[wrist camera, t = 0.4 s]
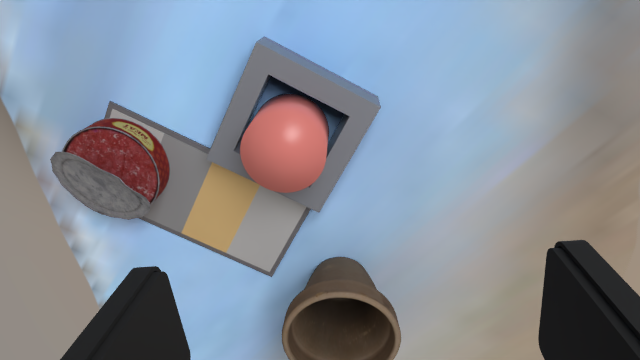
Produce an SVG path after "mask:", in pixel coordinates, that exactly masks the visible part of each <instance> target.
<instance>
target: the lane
mask: <svg viewBox="0 0 640 360" xmlns="http://www.w3.org/2000/svg"><path fill="white" fill-rule="evenodd" d="M108 118H120V119H126V120H129V121H133V122H135V123H137V124H139V125H141V126H143V127H144V128H146V129H147V130H149V131H150V132H151V133H152V134H153V135H154V136H155V137H156V138H157V139H158V140H159V142H160V143H161V144H162V146H163V147H164V149H165V151H166V153H167V156H168V160H169V164H170V176H169V181H168V183H167V186H166V188H165V189H164V191H163V192H162V193H161V194H160V195H159V196H158V197H157V199H156V200H155V201H154V202H153V203H152V205H151V206H150V212H148V213H147V214H145V215H144V216H143V217H142V218H140V219H142V220H144V221H146V222H149V223H151V224H153V225H156V226H158V227H160V228H162V229H165V230H167V231H169V232H171V233H174V234H176V235H178V236H180V237H183V238H185V239H187V240H189V241H192V242H194V243H196V244H199V245H201V246H203V247H205V248H208V249H210V250H212V251H214V252H217V253H219V254H221V255H223V256H226V257H228V258H230V259H232V260H235V261H237V262H239V263H242V264H244V265H246V266H248V267H251V268H253V269H255V270H257V271H260V272H262V273H264V274H266V275H269V276H271V277H272V275H273V274H274V272H275V270H276V268H277V267H278V265H279V263H280V261H281V260H282V258H283V256H284V255H285V253H286V251H287V249H288V248H289V246H290V244H291V242H292V241H293V239H294V237H295V235H296V234H297V232H298V230H299V228H300V227H301V225H302V223H303V221H304V220H305V218H306V216H307V214H308V213H309V211H310V208H308V207H306V206H304V205H302V204H300V203H297V202H295V201H293V200H291V199H289V198H287V197H285V196H283V195H281V194H278V193H276V192H274V191H271V190H269V189H266V188H264V187H262V186H261V185H259V184H257V183H255V182H253V181H251V180H249V179H247V178H245V177H243V176H240V175H238V174H236V173H234V172H232V171H230V170H228V169H226V168H224V167H221V166H219V165H217V164H215V163H213V162H211V161H209V160H207V159H206V158H207V156H208V154H209V151H210V148H208V147H206V146H203V145H201V144H199V143H197V142H195V141H193V140H191V139H189V138H187V137H185V136H183V135H180V134H178V133H176V132H174V131H172V130H170V129H168V128H166V127H164V126H162V125H159V124H157V123H155V122H153V121H151V120H149V119H147V118H145V117H143V116H141V115H139V114H136V113H134V112H132V111H130V110H128V109H126V108H124V107H122V106H120V105H118V104H116V103H113V102H111V101H110V102H109V105H108V108H107V112H106V115H105V118H104V119H108Z"/></svg>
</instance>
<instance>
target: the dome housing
mask: <svg viewBox="0 0 640 360" xmlns="http://www.w3.org/2000/svg"><path fill="white" fill-rule="evenodd" d="M270 76H272V77H274V78H276V79H278V80H280V81H282V82H284V83H286V84H288V85H290V86H292V87H294V88H296V89H297V90H299V91H301V92H303V93H305V94H307V95H309V96H311V97H313V98H315V99H317V100H319V101H321V102H323V103H325V104H327V105H329V106H330V107H332V108H334V109H336V110H338V111H340V112H342V113H344V116H343V117H342V119H341V121H340V123H339V125H338V127H337V128H336V130H335V132H334V134H333V136H332V137H331V139H330V141H329V143H328V146H327V156H326V162H325V166H324V169H323V171H322V173H321V174H320V176H319V177H318V179H317V180H316V181H315V182H314V183H312V184H311V185H310V186H308V187H307V188H304V189H302V190H299V191H296V192H290V193H281V192H276V193H278V194H281V195H283V196H285V197H287V198H289V199H291V200H293V201H295V202H297V203H300V204H302V205H304V206H306V207H308V208H310V209H312V210H314V211H316V212H320V210H321V208H322V207H323V205H324V203H325V202H326V200H327V198H328V197H329V195H330V193H331V191H332V190H333V188H334V186H335V185H336V183H337V181H338V179H339V178H340V176H341V174H342V173H343V171H344V169H345V167H346V166H347V164H348V162H349V161H350V159H351V157H352V156H353V154H354V152H355V150H356V149H357V147H358V145H359V144H360V142H361V140H362V138H363V137H364V135H365V133H366V132H367V130H368V128H369V126H370V125H371V123H372V121H373V120H374V118H375V116H376V115H377V113H378V111H379V109H380V108H381V106H380V103H379V99H378V96H376V95H374V94H372V93H370V92H369V91H367V90H365V89H363V88H361V87H359V86H357V85H355V84H353V83H351V82H350V81H348V80H346V79H344V78H342V77H340V76H338V75H336V74H334V73H333V72H331V71H329V70H327V69H325V68H323V67H321V66H319V65H317V64H316V63H314V62H312V61H310V60H308V59H306V58H304V57H302V56H300V55H298V54H297V53H295V52H293V51H291V50H289V49H287V48H285V47H283V46H281V45H280V44H278V43H276V42H274V41H272V40H270V39H268V38H266V37H263V38H261V39H260V40H258V41H257V42H256V44H255V46H254V49H253V51H252V53H251V56H250V58H249V60H248V63H247V65H246V67H245V70H244V72H243V74H242V77H241V79H240V81H239V84H238V86H237V88H236V91H235V93H234V95H233V98H232V100H231V102H230V105H229V107H228V109H227V112H226V114H225V116H224V119H223V121H222V123H221V126H220V128H219V130H218V133H217V135H216V137H215V140H214V142H213V144H212V147H211V149H210V151H209V154H208V156H207V158H206V159H207V160H209V161H211V162H213V163H215V164H217V165H219V166H221V167H224V168H226V169H228V170H230V171H232V172H234V173H236V174H238V175H240V176H243V177H245V178H247V179H249V180H251V181H253V182H255V181H254V180H253V179H252V178H251V177H250V176H249V174H248V173H247V171H246V170H245V168H244V166H243V163H242V160H241V155H240V145H241V140H242V137H243V135H244V133H245V131H246V129H247V127H248V124H249V122H250V120H251V118H252V116H253V113H254V111H255V109H256V107H257V105H258V102H259V100H260V98H261V96H262V94H263V91H264V89H265V87H266V85H267V83H268V81H269V78H270ZM255 183H256V182H255ZM257 184H258V183H257ZM274 192H275V191H274Z"/></svg>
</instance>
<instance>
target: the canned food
mask: <svg viewBox="0 0 640 360" xmlns="http://www.w3.org/2000/svg"><path fill="white" fill-rule="evenodd" d="M50 160H51V163H52V170H53V172H54V174H55V175H56V176H57V178H58V179H59V181H60V183H61V185H62V186H63V187H65V188H66V189H67V190H68V191H69V192H70V193H71V194H72V195H73V196H74V197H75V198H76V199H77V200H79V201H81V202H82V203H83V204H84V205H85V206H87V207H89V208H90V209H92V210H93V211H96V212H98V213H100V214H103V215H107V216H110V217H116V218H123V219H128V220H129V219H133V218H142V217H143V216H144V215H145V214H147V213H148V212H150V206H151V205H152V203H153V202H154V201H155V200H156V199H157V197H158V196H159V195H160V194H161V193H162V192H163V191H164V189H165V188H166V186H167V183H168V181H169V176H170V164H169V160H168V156H167V153H166V151H165V149H164V147H163V146H162V144H161V143H160V142H159V140H158V139H157V138H156V137H155V136H154V135H153V134H152V133H151V132H150V131H149V130H147V129H146V128H144V127H143V126H141V125H139V124H137V123H135V122H133V121H129V120H126V119H120V118H108V119H102V120H100V121H97V122H95V123H93V124H92V125H90V126H88V127H87V128H85V129H83V130H80V131H79V132H77V133H76V134H74V135H73V136H72V137H71V138H70V139H69V140H68V141H67V143H66V145H65V146H64V148H63V152H55V154H54V155H53V156H52V158H51V159H50Z"/></svg>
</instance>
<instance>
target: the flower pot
mask: <svg viewBox="0 0 640 360" xmlns="http://www.w3.org/2000/svg"><path fill="white" fill-rule="evenodd" d="M282 343H283V347H284V350H285V352H286V355H287V356H288V358H289V359H290V360H393V359H394V358H395V356H396V354H397V352H398V350H399V347H400V343H401V332H400V327H399V324H398V320H397V316H396V313H395V311H394V308H393V307H392V305H391V303H390V302H389V301H388V299H387V298H386V297H385V296H384V295H383V294H382V293H380V292H379V291H378V290H377V289H376V287H375V285H374V283H373V281H372V280H371V278H370V276H369V275H368V273H367V272H366V270H365V269H364V268H363V266H362V265H361V264H359V263H358V262H357V261H355V260H353V259H350V258H346V257H334V258H330V259H327V260H325V261H323V262H322V263H321V264H319V265H318V267H317V268H316V269H315V271H314V272H313V274H312V276H311V277H310V279H309V281H308V283H307V285H306V287H305V289H304V290H303V291H302V292H301V293H299V294H298V295H297V296H296V297H295V298H294V299H293V301H292V302H291V304H290V305H289V307H288V310H287V312H286V316H285V320H284V325H283V329H282Z"/></svg>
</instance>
